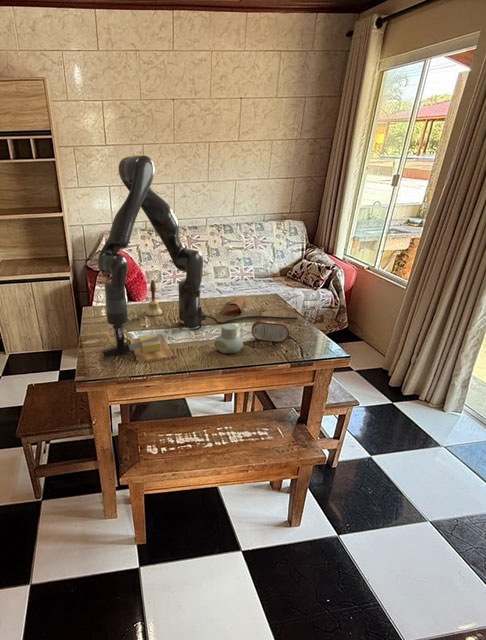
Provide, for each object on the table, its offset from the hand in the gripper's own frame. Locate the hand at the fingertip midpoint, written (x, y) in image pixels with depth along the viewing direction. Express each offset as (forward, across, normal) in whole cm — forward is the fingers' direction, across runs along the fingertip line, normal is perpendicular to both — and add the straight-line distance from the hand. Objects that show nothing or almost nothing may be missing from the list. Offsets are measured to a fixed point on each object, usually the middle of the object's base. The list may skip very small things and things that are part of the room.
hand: (120, 352), depth 155 cm
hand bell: (+2, +43, -21) cm, 48 cm away
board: (+2, +3, -12) cm, 13 cm away
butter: (+1, +4, -12) cm, 12 cm away
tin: (+2, -2, -60) cm, 60 cm away
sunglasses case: (+2, +37, -60) cm, 70 cm away
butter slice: (0, -1, -12) cm, 12 cm away
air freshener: (+2, -6, -41) cm, 42 cm away
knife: (0, 0, -5) cm, 5 cm away
